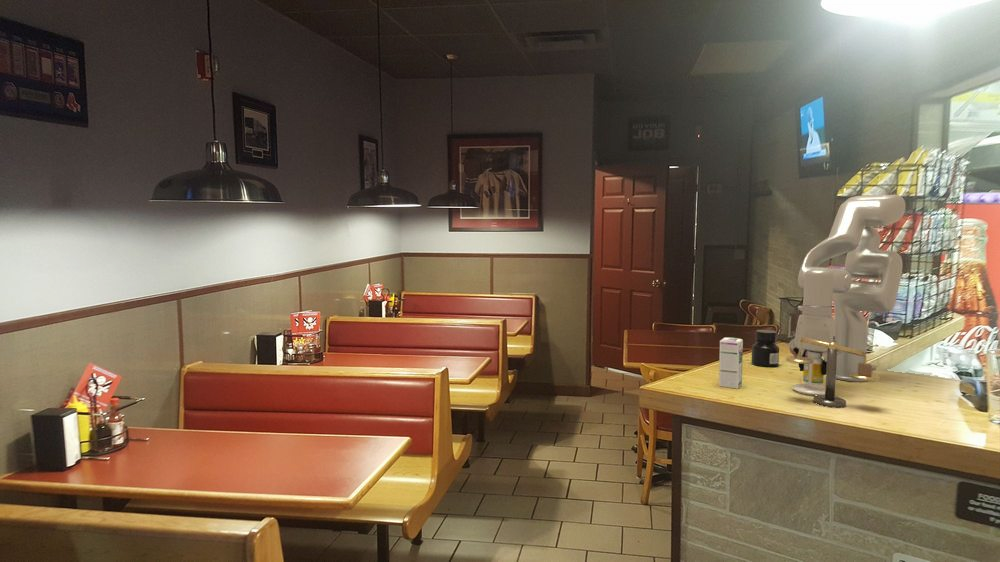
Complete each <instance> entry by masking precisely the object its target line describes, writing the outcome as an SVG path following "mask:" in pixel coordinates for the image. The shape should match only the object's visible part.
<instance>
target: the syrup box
mask: <svg viewBox="0 0 1000 562" xmlns="http://www.w3.org/2000/svg"><path fill="white" fill-rule="evenodd" d="M743 345H744V340H743V339H742V338H738V337H723V338H722V339H721V340H719V356H718V357H719V363H718V364H719V365H718V366H719V368H718V386H719V387H721V388H729V389H737V390H738V389H739V388H740V387H741V386H742V383H743V357H744V355H743V353H744V352H743V350H744V348H743V347H744V346H743Z"/></svg>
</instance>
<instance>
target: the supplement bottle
mask: <svg viewBox="0 0 1000 562" xmlns="http://www.w3.org/2000/svg"><path fill="white" fill-rule="evenodd" d="M807 356H808V357H807V358H811V359H813V360H814V363H811V364H804V371H802V372H803V373H802V375H803V376H802V382H803V384H809V385H820V386H823V385H824V376H825V375H822V374H821V372H822V362H823V361H824V358H822V357H823V354H822V352H819V351H812V350H808V351H807Z"/></svg>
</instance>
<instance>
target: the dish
mask: <svg viewBox="0 0 1000 562" xmlns="http://www.w3.org/2000/svg"><path fill="white" fill-rule="evenodd" d="M825 386H826V385H824V386H823V385H809V384H805V383H798V384H797V383H796V384H793V385H792V386H791V387H792V390H794V391H796V392H797V393H799V394H803V395H806V394H807V396H812V395H817V396H818V395H825Z"/></svg>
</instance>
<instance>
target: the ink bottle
mask: <svg viewBox="0 0 1000 562" xmlns="http://www.w3.org/2000/svg"><path fill="white" fill-rule="evenodd" d="M777 333H778V332H777V331H776V330H771V329H756V330H755V342H754V343H753V344H752V346H751V364H752V365H754V366H758V367H766V368H767V367H768V368H774V367H778V366H779V365H780V364H779V363H780V361H779V360H780V347H779V346H778V345H777V337H778V334H777Z"/></svg>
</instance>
